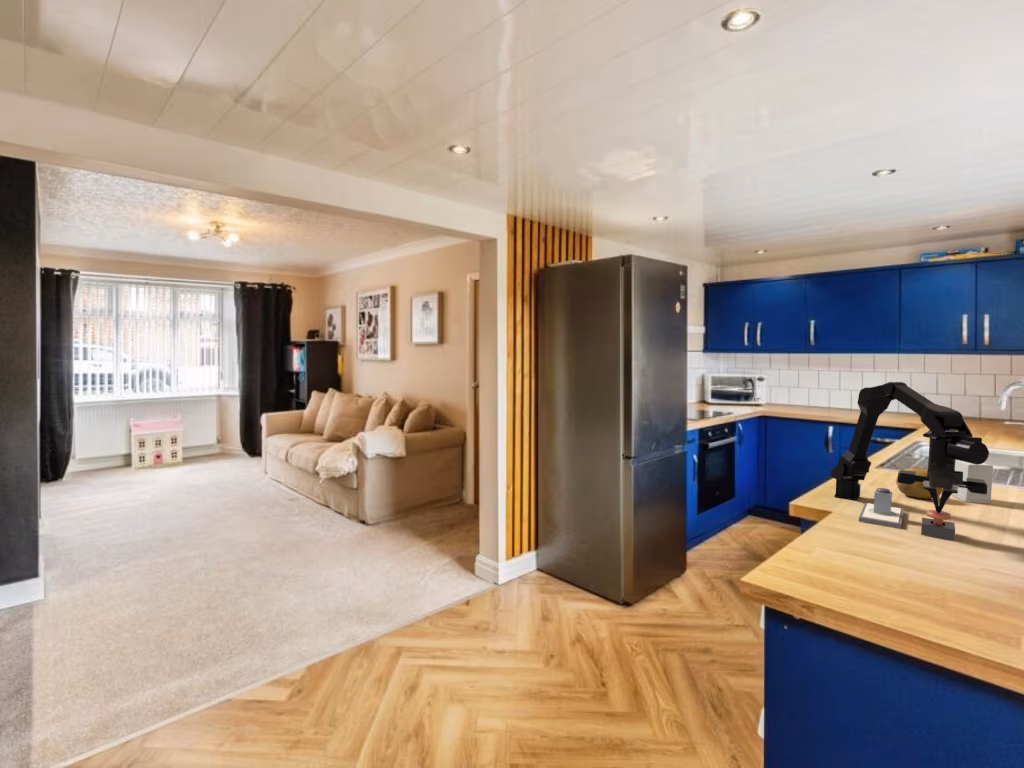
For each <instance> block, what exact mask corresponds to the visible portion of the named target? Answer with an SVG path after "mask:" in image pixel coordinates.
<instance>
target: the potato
mask: <svg viewBox="0 0 1024 768" xmlns="http://www.w3.org/2000/svg"><path fill="white" fill-rule="evenodd" d="M904 470H906V471H915V472H916V475H921V476H927V470H928V469H925V468H921V467H910V468H906V469H904ZM897 479H898V475H897V476H896V477H895V484H896V486H897V488H898V490H899V491H900V493H902V494H903V495H905V496H907V497H910V498H918V499H924V500H925V499H926V500H927V499H928V500H929V499H932V497H931V495H930V493H929V491H928V490H926V489H923V482H915V483H913V484H903V483H898V482H897ZM942 490H943V488H938V487H937V494H938V499H939V498H940V497H941V494H942ZM932 500H933V499H932Z"/></svg>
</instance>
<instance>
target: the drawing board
mask: <svg viewBox="0 0 1024 768" xmlns="http://www.w3.org/2000/svg"><path fill="white" fill-rule="evenodd" d="M904 515H905V509H904V508H903V507H902V508H900V507H894V506H891V513H890V515H887V514H881V513H875V512H874V503H869V502H865V503H864V504H863V507H862V509H861V512H860V514H859V516H858V522H862V523H867V524H871V525H879V526H885V527H889V528H895V529H896V528H897V529H902V525H903V520H904Z"/></svg>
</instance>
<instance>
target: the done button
mask: <svg viewBox="0 0 1024 768" xmlns="http://www.w3.org/2000/svg"><path fill="white" fill-rule="evenodd" d="M926 516H927V518H928V517H929V518H930V519H934V521H933V524H936V525H942V526H943V521H950V520H951V516H952V515H951V513H949V512H948V511H943V510H942V511H941V513H938V512H936V509H927V510H926Z"/></svg>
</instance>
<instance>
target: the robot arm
mask: <svg viewBox="0 0 1024 768" xmlns="http://www.w3.org/2000/svg"><path fill="white" fill-rule="evenodd" d="M895 400H897V401H898V402H900V403H901V404H902V405H904V406H905V407H907V408H908V409H910V410H911V411H913V413H915V414H917V415H918V416H919V417H920V422H921V423H922V424H923V425H924V426H925V427H926V428H927V429H928V431H926V432H924V433H923V434H922V437H924V438H927V439H928V438H929V443H928V444H929V446H928V456H927V457H928V458H927V459H928V461H927V469H926V470H927V476H921V475H916V472H915V471H906V470H905V469H900V470H899V471H898V473H897V476H898V479H897V482H898V483H903V484H913V483H915V482H923V489H926V490H928V491H929V493H930V495H931V497H932V501H933V505H934V508H935V509H934V510H936V512H938V513H941V511H943V509H944V507H945V505H946V503H947V501H948V500H949V498H950V497H951V496H953V493H958V489H957V488H958V487H962V488H967V489H968V490H969V491H970V492H971V493H979V494H987V483H986V482H985V481H984V480H982V479H973V478H967V480H966V481H963V472H961V471H955V462H956V461H964V462H968V463H972V464H976V465H979V464H982V463H985V462H986V461H987V460H988V458H989V455H990V451H989V449H988V446H987V445H986V444H985V443H983V438H982V437H978V436H974V435H973V434H972V432H971V430H970V429H969V427H968V425H967V423H966V422H965V420H964V418H963V415H962V413H961V412H960V411H958V410H956V409H953V408H951V407H948V406H945V405H940V404H937V403H934V402H933V401H932V400H929V399H928V398H927V397H925V396H923V395H922V394H921V393H919V392H917V391H916V390H914V389H912V388H911V387H910V386H908V384H907V383H905V382H903V381H890V382H885V383H883V384H881V385H879V384H878V385H876V386H871V387H870V386H869V387H868V386H867V387H864V388H861V389H860V391H859V392H858V398H857V406H858V408H859V410H860V412H859V416H858V420H857V422H856V426H855V429H854V432H853V435H852V438H851V442H850V444H849V447H848V450H847V451H845V452H844V453H842V455H841V456H840V457H839V460H838V462H837V464H836V465H835V466H834V467H833V468H832V469H831V471H830V477H831V478H832V479H835V494H834V497H836V498H840V499H847V500H854V501H857V500H858V499H859V498H860V497H861V486H862V485H861V483H860V481H864V480H865V478H866V477H867V473H870V467H871V465H872V461H870V460H869V458H868V456H867V452H868V449H869V447H870V443H871V441H872V437H873V434H874V431H875V428H876V425H877V422H878V419H879V416H881V415H882V414H883V413H884V412H886V410H887V409H888V408H889V406H890V404H891V402H892V401H895ZM937 487H938V488H942V493H941V494H940V500H939V498H938V494H937Z"/></svg>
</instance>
